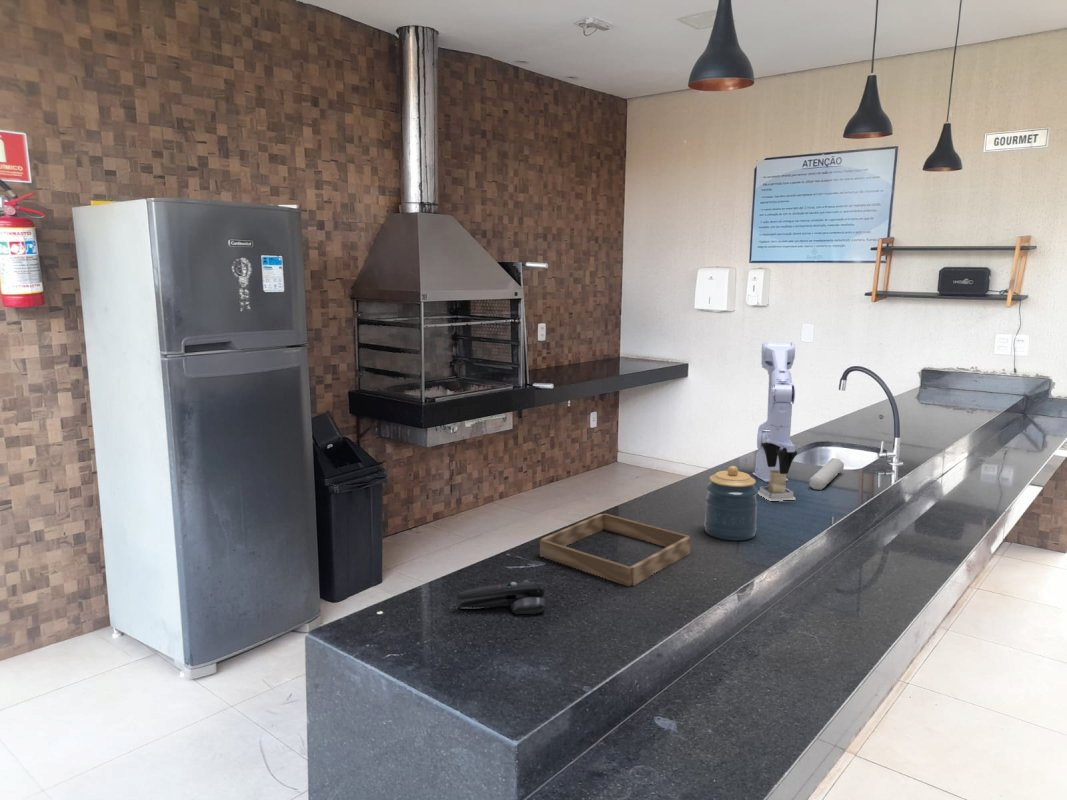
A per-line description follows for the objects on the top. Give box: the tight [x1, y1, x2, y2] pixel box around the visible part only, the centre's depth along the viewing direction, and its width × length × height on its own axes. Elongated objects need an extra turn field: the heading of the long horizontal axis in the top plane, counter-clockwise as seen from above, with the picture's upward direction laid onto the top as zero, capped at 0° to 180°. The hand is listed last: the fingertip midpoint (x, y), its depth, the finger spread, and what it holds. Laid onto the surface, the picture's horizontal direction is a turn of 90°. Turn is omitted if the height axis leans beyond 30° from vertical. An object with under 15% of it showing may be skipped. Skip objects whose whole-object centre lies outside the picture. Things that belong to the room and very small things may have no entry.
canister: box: [703, 465, 760, 542], centre depth 187 cm, size 13×13×18 cm
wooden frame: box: [539, 513, 692, 587], centre depth 174 cm, size 26×26×4 cm
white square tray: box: [759, 485, 794, 499], centre depth 218 cm, size 8×8×2 cm
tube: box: [808, 457, 845, 491], centre depth 235 cm, size 5×5×25 cm
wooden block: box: [768, 470, 787, 493], centre depth 218 cm, size 4×4×7 cm
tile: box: [756, 490, 796, 502], centre depth 218 cm, size 8×8×1 cm
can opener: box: [456, 580, 547, 615], centre depth 146 cm, size 18×7×6 cm, turn 91°
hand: (777, 470), depth 217 cm, fingers open, 7 cm apart
